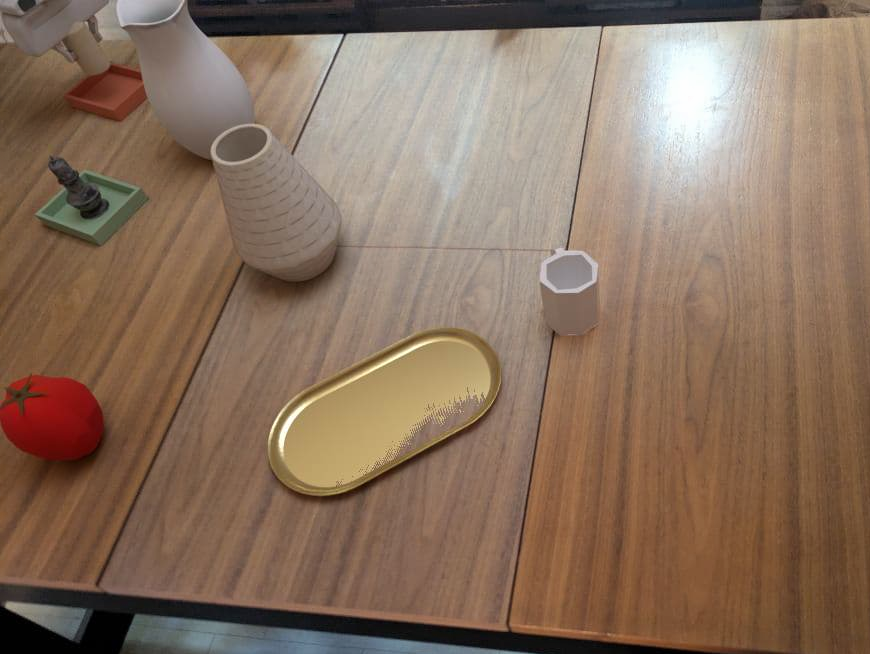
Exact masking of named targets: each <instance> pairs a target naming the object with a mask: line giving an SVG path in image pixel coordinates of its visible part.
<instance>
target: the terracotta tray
mask: <svg viewBox="0 0 870 654" xmlns="http://www.w3.org/2000/svg"><path fill="white" fill-rule="evenodd" d="M110 63H111V64H110V67H109V68H108V69H107V70H106V71H105V72H103V73H101V74H98V75H93V76H90V75H86V76H84V77H83V78H82V79H80V81H79V82H77V83H76V84H75V85H74V86H72V87H71V88H70V89H69V90H68V91H66V92H65V93H64V94H62V97H63V98H64V100H65V101H66V103H67V104H68V105H69V107H71V108H74V109H78V110H79V111H84V112H87V113H91V114H94V115H98V116H100V117H104V118H107V119H111V120H113V121H118V122H122V121H123V120H125V119H126V117H128V116H129V115H130V114H131V113H132V112H134V110H136V108H138V107H139V106H140V105H141V104H143V102H144V101H146V100H147V99H148V98H147V95H146V91H145V88H144V84H143V79H142V74H141V69H140V68H136V67H132V66H128V65H125V64H124V65H123V64H120V63H116V62H112V61H110Z"/></svg>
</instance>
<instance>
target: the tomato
mask: <svg viewBox="0 0 870 654" xmlns="http://www.w3.org/2000/svg"><path fill="white" fill-rule="evenodd" d="M4 389H5V390H6V392H5V399H4V400H2V401H1V403H0V427H1V429H2V432H4V435H5V437H6V438H7V439H8V441H10V442H11V444H12V445H14V447H16V448H17V449H18V450H20V451H21V452H23V453H25V454H28V455H31V456H35V457H38V458H41V459H45V460H51V461H68V460H69V461H70V460H78V459H81V458H82V457H84V456H87V455H89V454H91V453H92V452H93V451H94V450H95V449H96V448H97V447H98V446H99V443H100V440H101V438H102V435H103V432H104V429H105V422H104V413H103V410H102V408H101V405H100V404H99V401H98V400H97V398H96V397H95V395H94V394H93V392H92V391H91V390H90V389H89V388H88V386H87V384H84V383H82V382H80V381H78V380H76V379H75V378H70V377H64V376H63V377H59V376H58V377H50V376H47V375H41V374H33V372H31V373H30V374H29V375H28V376H25V377H23V378H21V379H17V380H15V381H12V382H11V383H10V384H9V385H8V387H4Z"/></svg>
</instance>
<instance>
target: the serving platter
mask: <svg viewBox="0 0 870 654" xmlns="http://www.w3.org/2000/svg"><path fill="white" fill-rule="evenodd" d="M502 373H503V372H502V365H501V361H500V358H499V357H498V354H497V351H496V350H495V349H494V348H493V346H492V345H491V344H490V343H489V342H488V341H487V340H486V339H485V338H483V337H482V336H480V335H478V334H477V333H475V332H472V331H471V330H469V329H465V328H460V327H456V326H455V327H454V326H436V327H431V328H426V329H423V330H420V331H417V332H414V333H412V334H410V335H408V336H407V337H404V338H402V339H400V340H398V341H397V342H394V343H392V344H391V345H389V346H387V347H385V348H383V349H381V350H379V351H377V352H375V353H372V354H371V355H369V356H367V357H365V358H363V359H361V360H360V361H357V362H355V363H353V364H351V365H349V366H348V367H345V368H344V369H341V370H339V371H338V372H336V373H334V374H332V375H330V376H328V377H326V378H324V379H322V380H320V381H318V382H316V383H315V384H313V385H310V386H308V387H307V388H305V389H304V390H302V391H301V392H299V393H298V394H296V395H295V396H294V397H292V398H291V399H290V400H289V401H288V402H287V403H286V405H284V407H282V409H281V410H280V412H279V413H278V415H276V418H275V420H274V422H273V424H272V426H271V428H270V430H269V431H270V432H269V435H268V440H267V457H268V462H269V464H270V467H271V469H272V471H273V473H274V475H275V476H276V477H277V478H278V480H279V481H280V482H281V483H283V485H285V486H286V487H287V488H289V489H291V490H292V491H295V492H296V493H299V494H302V495H305V496H312V497H331V496H337V495H341V494H344V493H348V492H350V491H353V490H355V489H357V488H359V487H361V486H362V485H365V484H366V483H368V482H370V481H372V480H373V479H375V478H377V477H379V476H381V475H382V474H384V473H387V472H388V471H390V470H392V469H394V468H395V467H398V466H399V465H401V464H403V463H404V462H406V461H408V460H410V459H412V458H414V457H415V456H417V455H419V454H421V453H423V452H424V451H426V450H428V449H430V448H432V447H433V446H435V445H438V444H439V443H441V442H443V441H445V440H446V439H448V438H450V437H452V436H453V435H455V434H458V433H459V432H461V431H463V430H465V429H467V428H469V427H470V426H471V425H473V424H475V422H477V421H479V420H480V419H481V418H482V417H483V416H484V415H485V414H486V413H487V412H488V411H489V410H490V408H491V407H492V405H493V404H494V402H495V400H496V398H497V397H498V394H499V391H500V389H501V384H502V375H503V374H502ZM467 387H468V391H469V394H468V392H467ZM474 389H475V392H474ZM482 392H483V395H484V398H485V402H484V405H482V407H480V409H478V411H477V413H475V415H474V416H472V417H470V419H468V420H467V421H465V422H463V423H461V424H460V425H459V426H457V427H455V428H453V429H452V428H451V430H450V429H449V431H448V430H447V432H444V434H443V433H442V435H441V434H440V436H439V435H438V437H437V436H436V438H434V439H433V440H431V441H429V442H428V443H425V444H423V445H421V447H420V446H419V448H417V447H416V449H414V450H412V451H409V452H408V454H407V453H406V454H405V455H403V456H400V457H398V458H395V460H394V457H395V455H396V453H397V450H398V448H399V446H400V447H401V445H402V443H403V444H404V442H405V439H406V436H407V438H408V436H409V438H410V435H411V437H412V434H413V431H414V428H415V430H416V427H417V429H418V425H419V422H420V424H421V421H422V423H423V419H424V422H425V418H426V420H427V416H428V419H429V415H430V417H431V413H432V415H433V418H434V420H435V417H434V414H435V416H436V412H437V414H438V410H439V412H440V415H441V411H440V408H441V410H442V413H443V408H444V411H445V413H446V408H447V411H448V413H449V410H448V406H449V409H450V411H451V406H452V409H453V403H454V397H455V401H456V403H457V402H459V403H460V406H461V402H460V399H459V397H461V400H462V403H463V401H464V400H465V402H466V396H467V399H468V395H470V398H471V399H473V396H474V395H477V398H478V401H479V403H480V398H481V399H482V397H481V394H482ZM459 395H460V396H459ZM449 400H450V403H451V404H449ZM475 400H476V399H475ZM468 401H469V400H468ZM482 401H483V399H482ZM433 403H434V406H435V408H434V407H433ZM444 403H445V405H444ZM428 404H429V407H430V410H431V411H430V410H429V408H428ZM439 405H440V406H439ZM445 406H446V408H445ZM454 406H455V403H454ZM477 406H478V405H477ZM431 407H432V408H433V410H432V408H431ZM424 408H425V409H424ZM426 408H427V409H428V411H427V409H426ZM461 408H462V407H461ZM435 409H436V411H435ZM455 409H456V408H455ZM425 411H426V412H425ZM433 411H434V414H433ZM453 411H454V409H453ZM456 411H457V410H456ZM459 411H460V413H461V410H460V409H459ZM463 412H464V411H463ZM451 413H452V411H451ZM454 413H455V412H454ZM457 413H458V412H457ZM424 415H425V416H424ZM443 415H444V413H443ZM446 415H447V414H446ZM449 415H450V414H449ZM438 417H439V419H440V421H441V423H442V419H443V421H444V417H445V415H444V417H443V416H442V415H441V417H442V418H441V417H440V416H439V414H438ZM438 417H437V416H436V418H437V420H438ZM447 417H448V416H447ZM431 419H432V417H431ZM445 419H446V417H445ZM429 421H430V419H429ZM427 422H428V420H427ZM432 422H433V421H432ZM435 422H436V421H435ZM417 423H418V425H417ZM438 423H439V420H438ZM444 423H445V422H444ZM415 424H416V426H415ZM425 424H426V422H425ZM433 424H434V423H433ZM436 424H437V423H436ZM439 424H440V423H439ZM413 425H414V426H413ZM423 425H424V423H423ZM442 425H443V423H442ZM421 426H422V424H421ZM440 426H441V425H440ZM419 428H420V425H419ZM412 429H413V431H412ZM410 430H411V431H410ZM420 430H421V429H420ZM418 431H419V430H418ZM411 432H412V434H411ZM416 432H417V431H416ZM414 433H415V431H414ZM405 434H406V435H405ZM407 434H408V435H407ZM413 436H414V434H413ZM404 437H405V439H404ZM409 438H408V440H409ZM410 439H411V438H410ZM403 440H404V442H403ZM392 441H393V442H392ZM399 441H400V442H399ZM401 441H402V442H401ZM406 441H407V439H406ZM409 442H410V441H409ZM400 443H401V445H400ZM407 443H408V442H407ZM405 444H406V442H405ZM410 444H411V443H410ZM394 445H395V446H394ZM408 445H409V443H408ZM390 446H391V447H390ZM397 446H398V447H397ZM404 446H405V445H404ZM402 447H403V445H402ZM391 448H392V449H391ZM389 449H390V450H391V451H390V450H389ZM394 449H395V450H394ZM396 449H397V450H396ZM401 449H402V448H401ZM392 450H393V451H392ZM399 450H400V448H399ZM399 450H398V452H399ZM386 451H387V452H386ZM388 451H389V453H390V454H391V452H392V454H393V455H394V453H395V455H394V457H393V455H392V454H391V456H392V458H393V459H392V458H391V456H390V454H389V453H388ZM395 451H396V452H395ZM387 453H388V455H389V456H390V458H391V459H390V458H389V457H388V455H387ZM397 454H398V453H397ZM399 454H400V453H399ZM386 455H387V457H388V459H389V460H390V462H389V460H388V459H387V457H386ZM396 456H397V455H396ZM385 457H386V459H387V461H388V464H387V462H386V464H385V465H384V463H385V462H384V463H383V461H384V459H385ZM379 458H380V459H379ZM383 458H384V459H383ZM386 459H385V461H386ZM380 460H381V461H380ZM382 460H383V461H382ZM391 460H392V461H391ZM376 461H377V462H378V461H379V462H380V464H381V465H382V463H383V465H382V466H380V465H379V466H380V468H379V466H378V465H377V466H378V468H377V466H376V464H377V462H376ZM379 462H378V464H379ZM381 462H382V463H381ZM375 463H376V464H375ZM368 465H369V466H368ZM374 465H375V466H376V468H377V469H375V471H374V468H375V466H374ZM367 467H368V468H367ZM373 467H374V468H373ZM372 468H373V469H372ZM360 469H361V470H360ZM362 469H363V470H362ZM366 469H367V470H366ZM371 470H372V471H371ZM359 471H360V472H359ZM365 471H366V472H367V473H366V472H365ZM363 474H364V475H363ZM365 474H366V475H365ZM352 476H353V477H352ZM342 479H343V480H342ZM337 481H338V482H339V484H340V485H339V484H338V482H337ZM341 481H342V482H341ZM351 481H352V482H351ZM336 482H337V483H336ZM340 482H341V483H340ZM337 484H338V485H339V486H338V485H337ZM341 484H342V486H341ZM336 485H337V487H336Z"/></svg>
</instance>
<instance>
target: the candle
mask: <svg viewBox="0 0 870 654" xmlns="http://www.w3.org/2000/svg"><path fill="white" fill-rule="evenodd" d="M61 43H62V44H63V46H65V48H66V50H67V49H68V50H71V51H74V52H75V54H76V56H77V57H78V60H76V61H75V62H76V64H77V65H78V66H79V68H80V69H81V71H82V72H83V73H84V74H85V75H86V76H87V75H90V76H93V75H98V74H101V73H103V72H105V71H106V70H107V69H108V68H109V67H110V64H111V63H110V62H111V61H110V59H109V58H108V56H107V54H106V53H105V52H104V49H103V48H102V47H101V46H100V43H98V42H97V41H96V39H95V38H94V36H93V35H92V33H91V32H90V30H89V27H88V25H87V24H86V22H75V23H74V24H73V25H72V26H71V28H70V30H69V32H68V36H66V37H65V38H64V39H63V40H61Z"/></svg>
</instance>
